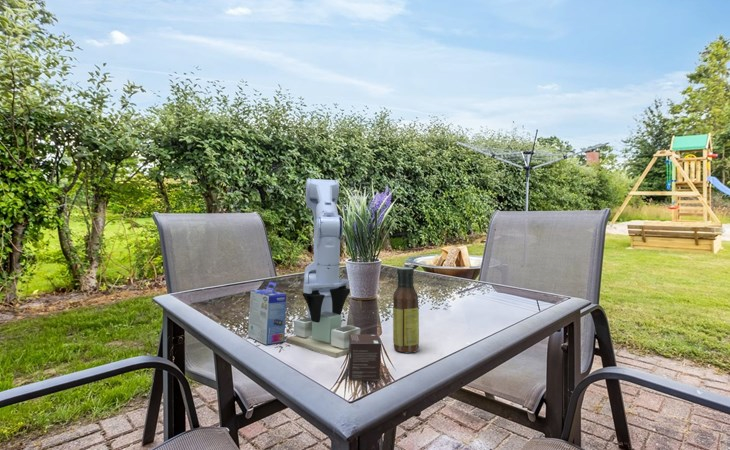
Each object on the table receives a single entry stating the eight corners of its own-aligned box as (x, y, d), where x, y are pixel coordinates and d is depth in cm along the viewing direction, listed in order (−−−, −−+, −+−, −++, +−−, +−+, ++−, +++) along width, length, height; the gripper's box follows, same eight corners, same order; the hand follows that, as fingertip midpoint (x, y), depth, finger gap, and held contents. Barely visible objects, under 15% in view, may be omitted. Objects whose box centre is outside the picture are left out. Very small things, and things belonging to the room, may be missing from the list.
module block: (322, 334, 98) (323, 310, 98) (340, 339, 94) (341, 314, 94) (311, 337, 95) (312, 313, 95) (329, 342, 91) (330, 317, 91)
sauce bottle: (420, 347, 94) (423, 267, 94) (415, 355, 88) (418, 270, 88) (395, 344, 96) (397, 265, 96) (388, 351, 90) (391, 268, 90)
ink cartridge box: (286, 342, 96) (287, 284, 96) (266, 346, 92) (268, 286, 92) (266, 333, 103) (268, 279, 103) (247, 337, 99) (249, 281, 99)
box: (347, 369, 79) (348, 333, 79) (376, 369, 79) (377, 333, 79) (349, 381, 73) (350, 342, 73) (380, 381, 73) (381, 342, 73)
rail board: (317, 333, 104) (317, 314, 104) (366, 346, 94) (366, 325, 94) (286, 342, 95) (286, 321, 95) (336, 357, 85) (336, 334, 85)
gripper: (318, 267, 86) (317, 327, 86) (358, 263, 98) (357, 316, 98) (297, 265, 91) (296, 321, 91) (338, 261, 102) (336, 312, 102)
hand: (326, 318), depth 95 cm, fingers open, 7 cm apart
